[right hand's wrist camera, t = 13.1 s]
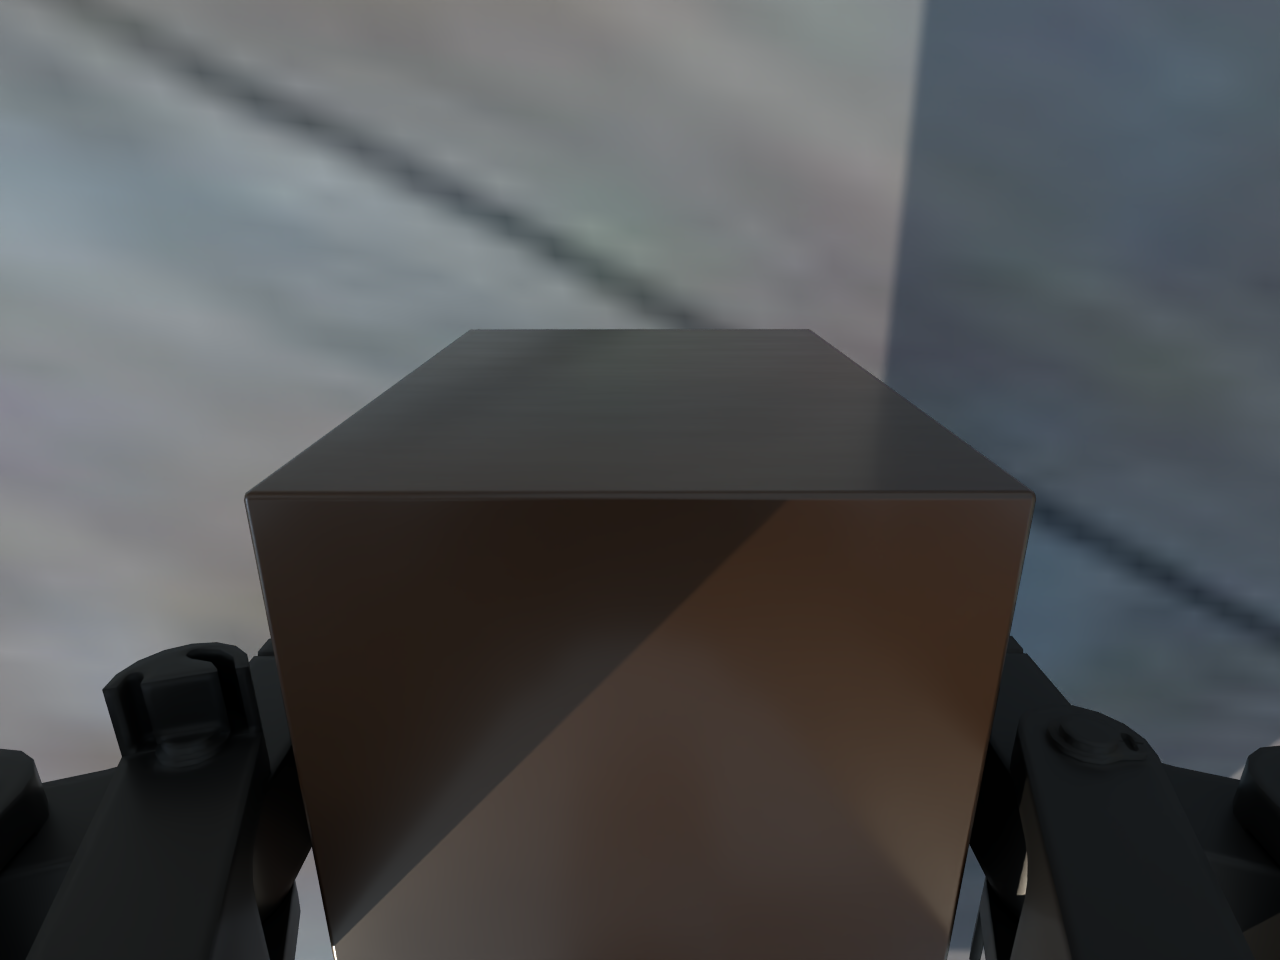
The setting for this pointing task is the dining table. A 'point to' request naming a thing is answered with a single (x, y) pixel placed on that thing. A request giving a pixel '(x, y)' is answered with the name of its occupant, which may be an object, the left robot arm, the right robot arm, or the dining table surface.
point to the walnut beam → (640, 651)
